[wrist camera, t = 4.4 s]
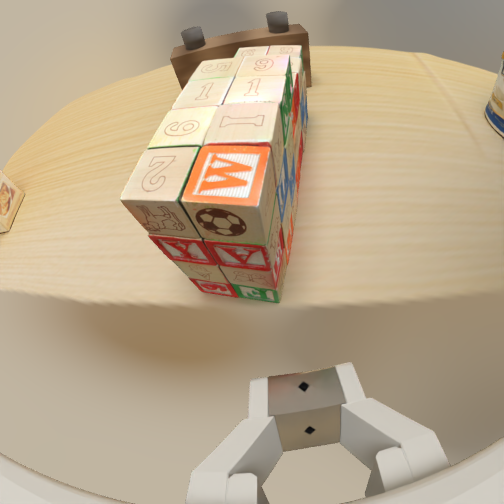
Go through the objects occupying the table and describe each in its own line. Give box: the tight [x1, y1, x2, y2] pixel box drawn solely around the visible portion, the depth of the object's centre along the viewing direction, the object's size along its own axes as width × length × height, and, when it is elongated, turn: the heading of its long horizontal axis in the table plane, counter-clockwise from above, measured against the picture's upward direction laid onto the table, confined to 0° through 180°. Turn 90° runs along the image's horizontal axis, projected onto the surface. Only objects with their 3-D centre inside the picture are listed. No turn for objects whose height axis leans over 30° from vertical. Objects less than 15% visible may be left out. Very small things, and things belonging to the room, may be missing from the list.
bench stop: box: [170, 11, 311, 90], centre depth 29 cm, size 16×4×10 cm, turn 96°
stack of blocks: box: [120, 45, 308, 303], centre depth 20 cm, size 21×6×12 cm, turn 168°
